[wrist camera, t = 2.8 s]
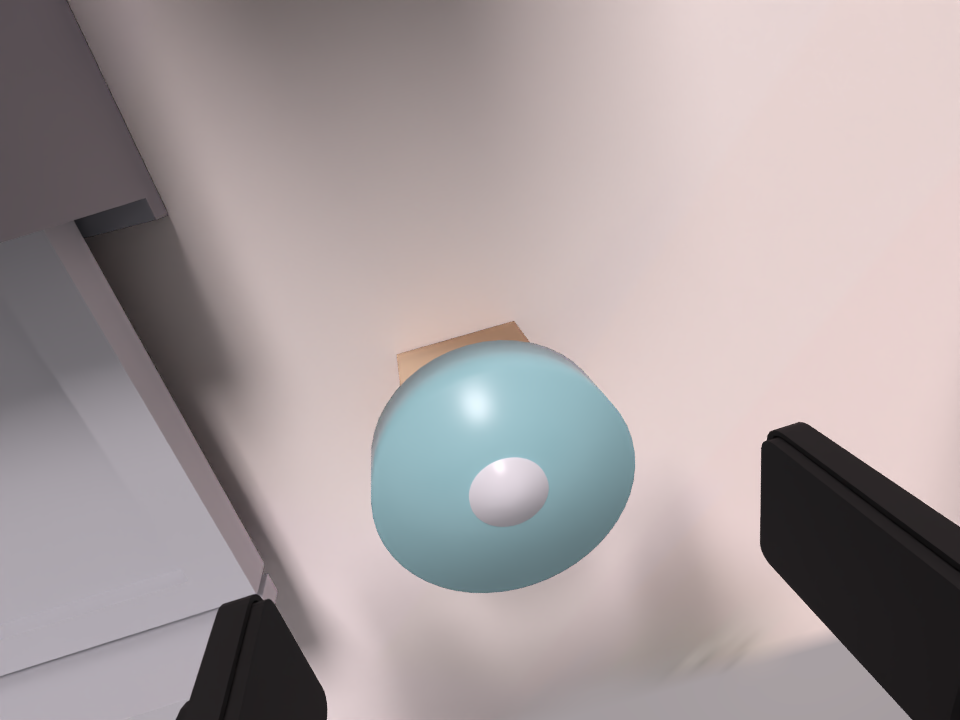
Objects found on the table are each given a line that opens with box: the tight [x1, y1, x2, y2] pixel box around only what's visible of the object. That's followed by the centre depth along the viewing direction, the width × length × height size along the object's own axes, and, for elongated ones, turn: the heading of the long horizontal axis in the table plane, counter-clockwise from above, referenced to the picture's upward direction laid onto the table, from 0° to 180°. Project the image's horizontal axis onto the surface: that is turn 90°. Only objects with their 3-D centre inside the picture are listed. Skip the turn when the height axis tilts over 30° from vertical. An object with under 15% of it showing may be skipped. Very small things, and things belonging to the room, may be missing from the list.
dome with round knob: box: [371, 340, 635, 593], centre depth 12 cm, size 6×6×2 cm
